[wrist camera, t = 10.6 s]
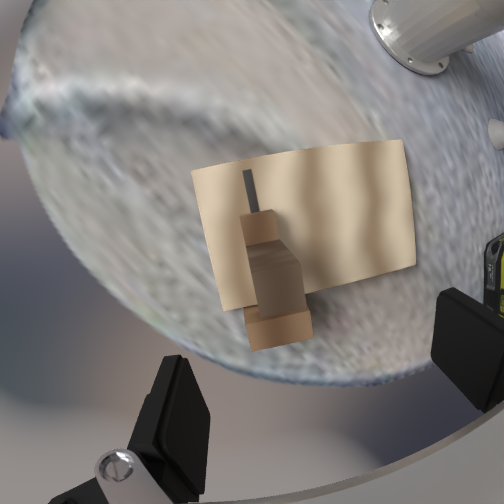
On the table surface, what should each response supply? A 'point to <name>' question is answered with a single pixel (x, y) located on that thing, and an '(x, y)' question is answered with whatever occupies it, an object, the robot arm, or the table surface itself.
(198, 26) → the table surface
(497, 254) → the power drill
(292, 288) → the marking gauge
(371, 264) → the birch board
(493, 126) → the chalice
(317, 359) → the table surface
